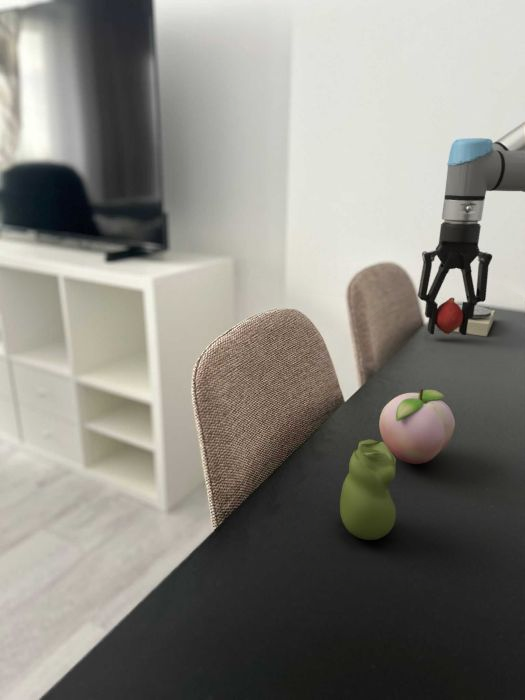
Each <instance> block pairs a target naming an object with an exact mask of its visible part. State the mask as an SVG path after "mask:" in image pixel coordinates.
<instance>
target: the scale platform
mask: <svg viewBox="0 0 525 700" xmlns="http://www.w3.org/2000/svg"><path fill="white" fill-rule="evenodd" d="M459 304H460V305H459ZM459 304H457V305H458V306H459V307H460V308H461V310H462V304H463V303H459ZM484 307H485V306H480V305H475V308H474V315H473V317H474V318H483V317H489V316H490V315H491V310H492V309H490V308H489V309H487V308H484Z"/></svg>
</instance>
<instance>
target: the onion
mask: <svg viewBox="0 0 525 700" xmlns="http://www.w3.org/2000/svg"><path fill="white" fill-rule="evenodd" d="M458 305H459V304H458V303H456V302H455V297H450V298H448V299H447V300H445V301H444V302H443V303H441V304H440V305H439V306H437V314H436V322H435V327H437V328H438V329H439V330H440V331H441V332H443V333H444V334H445V335H449V334H450V333H452V332H454V330H455V329H457V328H458V327H459V326H460V325H461V324H462V322H463V313H462V310H461V308H460V307H459V306H458Z"/></svg>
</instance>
